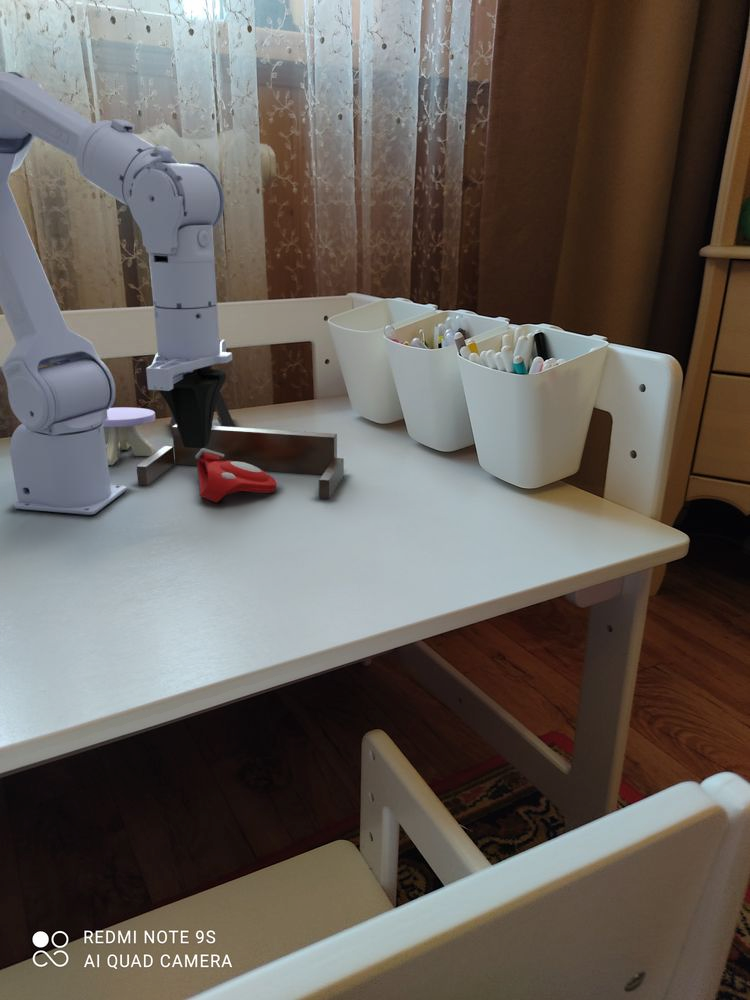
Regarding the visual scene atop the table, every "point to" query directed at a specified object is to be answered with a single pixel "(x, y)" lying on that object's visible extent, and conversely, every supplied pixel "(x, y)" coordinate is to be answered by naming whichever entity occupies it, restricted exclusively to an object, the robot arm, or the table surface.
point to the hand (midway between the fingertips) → (196, 445)
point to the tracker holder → (229, 476)
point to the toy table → (126, 431)
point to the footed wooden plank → (257, 454)
